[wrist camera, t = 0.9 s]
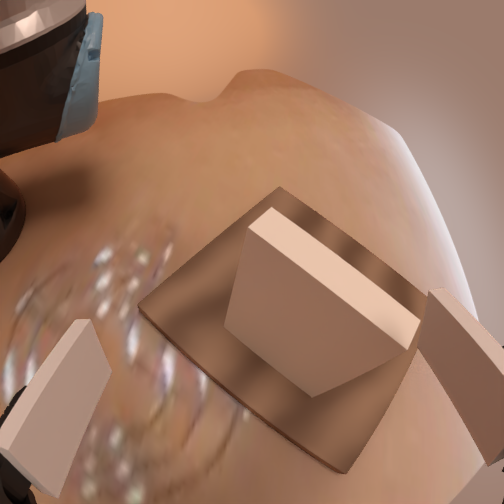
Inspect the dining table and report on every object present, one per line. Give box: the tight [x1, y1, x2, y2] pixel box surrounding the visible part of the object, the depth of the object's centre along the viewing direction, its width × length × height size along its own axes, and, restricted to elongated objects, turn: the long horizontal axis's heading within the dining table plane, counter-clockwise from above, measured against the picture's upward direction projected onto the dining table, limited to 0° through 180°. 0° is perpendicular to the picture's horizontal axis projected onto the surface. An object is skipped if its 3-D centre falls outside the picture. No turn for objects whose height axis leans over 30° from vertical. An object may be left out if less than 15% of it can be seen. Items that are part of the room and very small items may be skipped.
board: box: [137, 186, 427, 474], centre depth 30 cm, size 24×22×2 cm
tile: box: [224, 207, 421, 397], centre depth 21 cm, size 10×2×14 cm, turn 51°
